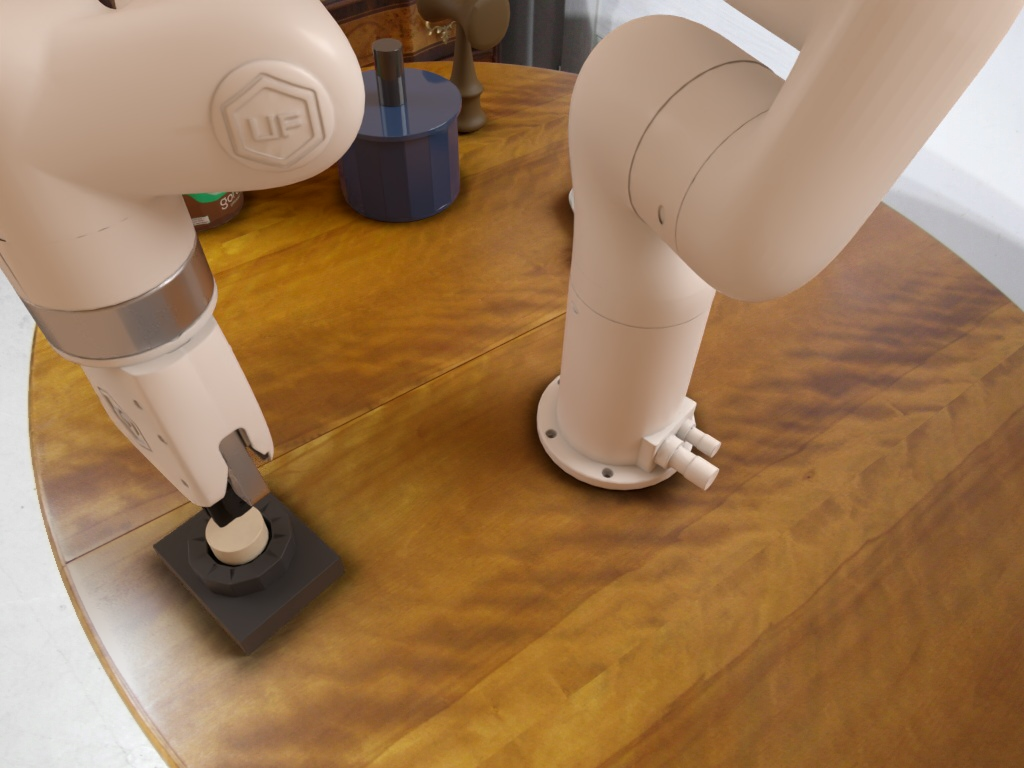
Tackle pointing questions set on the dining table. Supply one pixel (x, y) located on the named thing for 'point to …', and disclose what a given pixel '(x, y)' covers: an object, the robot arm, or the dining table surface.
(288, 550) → the button block
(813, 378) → the dining table surface
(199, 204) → the food container
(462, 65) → the kendama
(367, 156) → the jar
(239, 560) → the release button
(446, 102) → the jar lid
